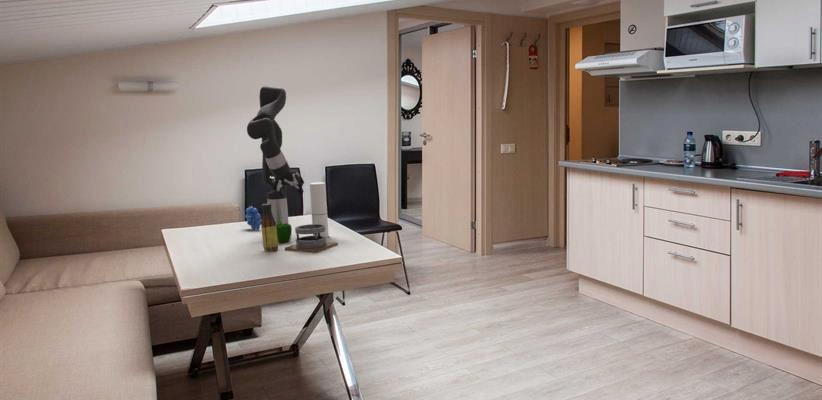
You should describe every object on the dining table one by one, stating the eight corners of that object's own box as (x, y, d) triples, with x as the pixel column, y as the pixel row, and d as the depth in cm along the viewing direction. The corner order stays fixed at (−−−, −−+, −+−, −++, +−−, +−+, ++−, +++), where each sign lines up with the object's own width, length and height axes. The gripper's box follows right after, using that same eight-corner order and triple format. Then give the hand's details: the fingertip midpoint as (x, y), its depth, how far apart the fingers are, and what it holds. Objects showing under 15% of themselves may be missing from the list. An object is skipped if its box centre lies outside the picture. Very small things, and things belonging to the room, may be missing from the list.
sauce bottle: (281, 248, 272) (278, 202, 269) (273, 252, 266) (270, 205, 263) (268, 248, 274) (264, 202, 271) (260, 251, 268) (256, 205, 265)
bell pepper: (294, 241, 286) (293, 219, 284) (277, 244, 282) (275, 222, 280) (288, 239, 293) (286, 217, 291) (271, 241, 289) (269, 219, 287)
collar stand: (284, 250, 269) (283, 229, 268) (308, 242, 283) (307, 222, 281) (315, 252, 261) (313, 231, 260) (337, 244, 275) (336, 224, 274)
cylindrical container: (330, 234, 298) (326, 182, 295) (326, 237, 291) (323, 183, 288) (315, 235, 299) (311, 182, 296) (311, 238, 292) (307, 184, 289)
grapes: (240, 229, 322) (238, 206, 320) (251, 227, 327) (249, 204, 326) (254, 231, 315) (252, 208, 313) (265, 229, 320) (263, 206, 318)
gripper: (296, 156, 260) (310, 188, 268) (266, 160, 264) (281, 192, 273) (289, 166, 254) (304, 198, 262) (259, 170, 259) (275, 202, 267)
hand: (293, 195), depth 267 cm, fingers open, 8 cm apart
